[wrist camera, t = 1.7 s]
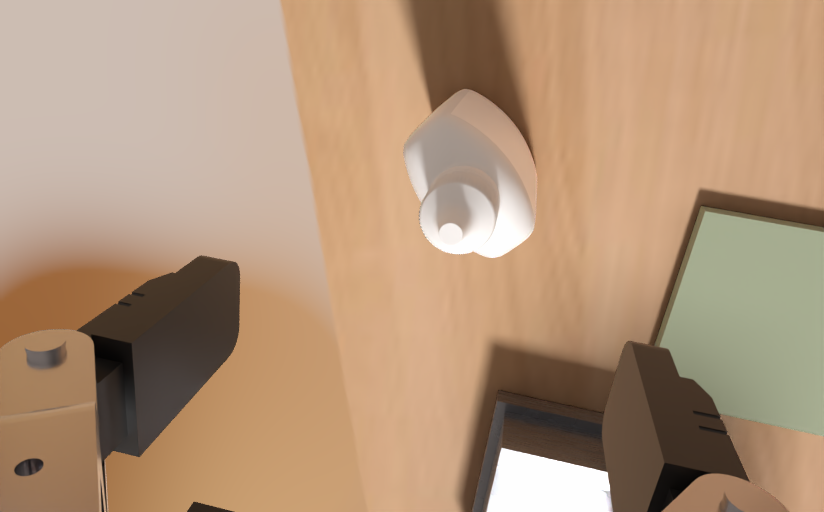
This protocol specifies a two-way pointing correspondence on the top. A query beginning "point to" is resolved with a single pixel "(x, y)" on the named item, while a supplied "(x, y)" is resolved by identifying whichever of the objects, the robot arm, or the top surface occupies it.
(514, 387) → the top surface
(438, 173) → the eye dropper bottle
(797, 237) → the rubber mat
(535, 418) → the socket block
